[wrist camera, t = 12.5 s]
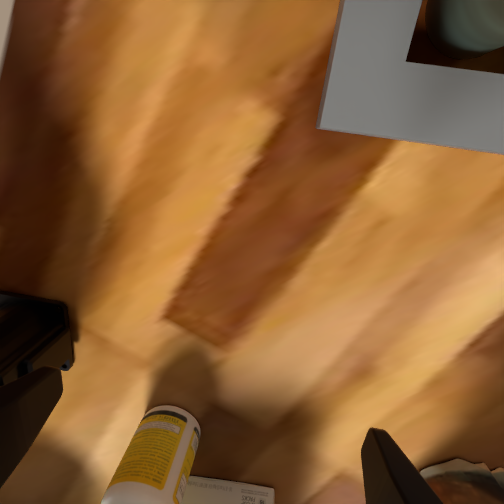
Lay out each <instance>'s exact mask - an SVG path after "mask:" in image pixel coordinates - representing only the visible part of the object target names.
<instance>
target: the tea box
mask: <svg viewBox="0 0 504 504" xmlns="http://www.w3.org/2000/svg"><path fill="white" fill-rule="evenodd" d="M274 495H275V492H274V489H273V488H269V487H264V486H258V485H253V484H247V483H240V482H233V481H226V480H218V479H211V478H204V477H197V476H189V479H188V482H187V486H186V489H185V493H184V496H183V500H182V503H181V504H274Z"/></svg>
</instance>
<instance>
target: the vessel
mask: <svg viewBox="0 0 504 504" xmlns="http://www.w3.org/2000/svg"><path fill="white" fill-rule="evenodd" d="M420 474H421V475H422V477H423V478H424V479H425V480H426V482H427V483H428V484H429V485H430V487H431V488H432V489H433V490H434V492H435V493H436V494H437V495H438V497H439V498H440V499H441V501H442V502H443V503H444V504H504V469H503V468H501V467H499V468H497V469H495V470H493V471H492V472H490V470H489V469H488V467H487V466H486V464H485V463H479V464H472V463H470V462H467V461H464V460H461V459H458V458H457V459H454V460H451V461H449V462H446V463H443V464H439V465H435V466H431V467H428V468H426V469H423V470H422V471H421V472H420Z"/></svg>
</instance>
